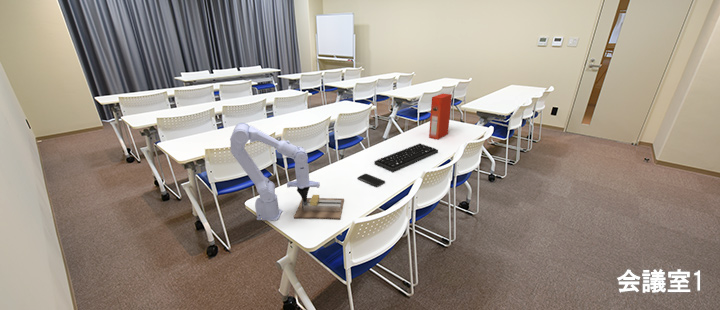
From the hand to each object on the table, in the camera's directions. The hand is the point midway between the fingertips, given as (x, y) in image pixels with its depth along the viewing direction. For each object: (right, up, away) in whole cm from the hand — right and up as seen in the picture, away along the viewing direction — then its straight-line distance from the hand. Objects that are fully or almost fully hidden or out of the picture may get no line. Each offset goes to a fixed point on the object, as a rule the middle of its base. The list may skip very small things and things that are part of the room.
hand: (305, 200), depth 134 cm
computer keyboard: (+57, +18, +56) cm, 82 cm away
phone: (+32, +6, +28) cm, 43 cm away
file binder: (+88, +36, +96) cm, 135 cm away
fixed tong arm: (+7, -4, +1) cm, 9 cm away
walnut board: (+7, -5, +3) cm, 8 cm away
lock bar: (+5, -1, 0) cm, 5 cm away
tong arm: (+9, -3, +2) cm, 10 cm away
